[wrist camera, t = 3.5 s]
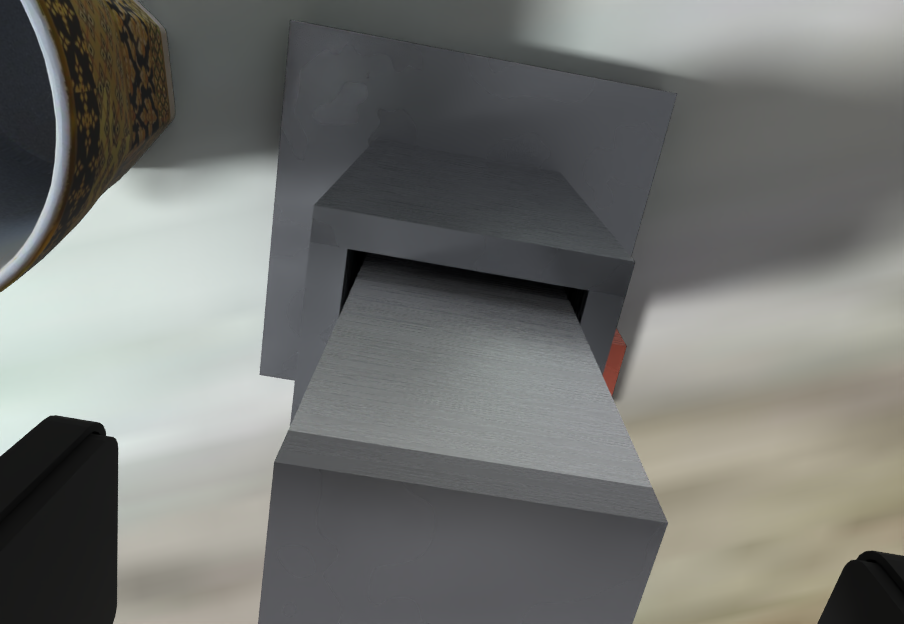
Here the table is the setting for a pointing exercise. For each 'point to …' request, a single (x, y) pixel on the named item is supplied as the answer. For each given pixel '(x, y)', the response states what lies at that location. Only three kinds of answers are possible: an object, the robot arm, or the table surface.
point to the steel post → (457, 464)
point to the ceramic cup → (72, 114)
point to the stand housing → (451, 182)
